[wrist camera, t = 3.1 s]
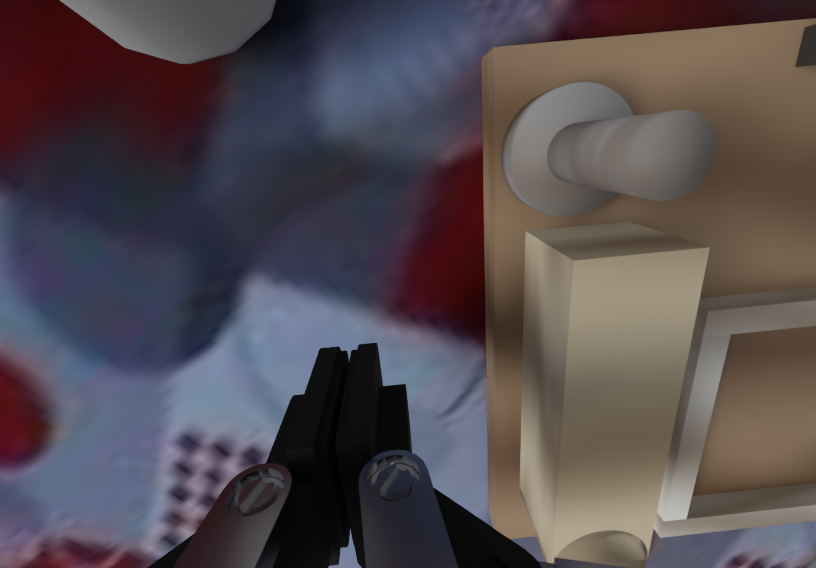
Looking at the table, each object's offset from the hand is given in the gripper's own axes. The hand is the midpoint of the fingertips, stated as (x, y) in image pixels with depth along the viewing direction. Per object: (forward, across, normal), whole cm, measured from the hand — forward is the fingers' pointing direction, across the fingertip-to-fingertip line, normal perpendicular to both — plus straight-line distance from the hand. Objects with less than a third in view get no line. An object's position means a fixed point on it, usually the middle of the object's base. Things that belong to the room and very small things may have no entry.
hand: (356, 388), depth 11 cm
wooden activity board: (+4, -14, +1) cm, 15 cm away
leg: (+1, -7, +2) cm, 7 cm away
